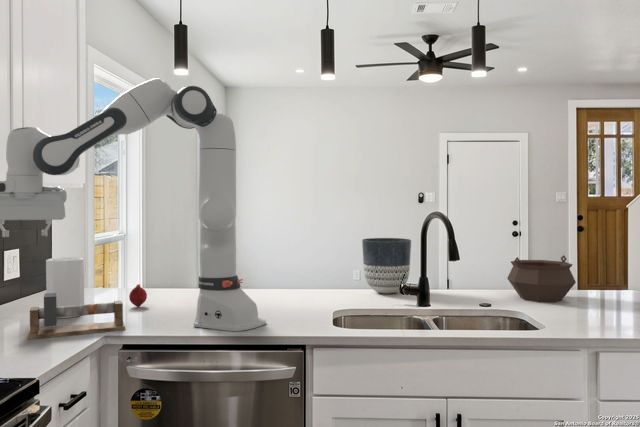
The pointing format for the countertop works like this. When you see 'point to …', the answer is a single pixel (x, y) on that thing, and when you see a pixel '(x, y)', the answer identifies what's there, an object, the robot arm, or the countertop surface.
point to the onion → (138, 296)
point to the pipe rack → (77, 310)
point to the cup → (66, 280)
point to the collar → (50, 309)
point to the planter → (386, 263)
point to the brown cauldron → (541, 279)
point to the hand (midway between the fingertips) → (25, 236)
